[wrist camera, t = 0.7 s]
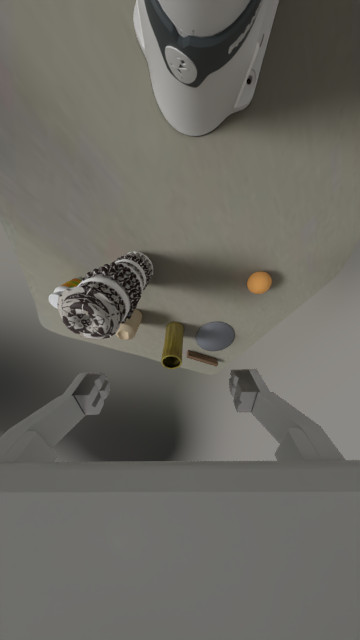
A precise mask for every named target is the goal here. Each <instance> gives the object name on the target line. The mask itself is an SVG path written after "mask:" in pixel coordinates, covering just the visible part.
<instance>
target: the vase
mask: <svg viewBox="0 0 360 640" xmlns="http://www.w3.org/2000/svg"><path fill="white" fill-rule="evenodd" d="M183 333H184V327H183V325H182V324H180V323H178V322H171V323H169V324H168V325H167V326H166V334H165V343H164V348H163V354H162V360H161V361H162V365H163V366H164V367H166V368H169V369H176V368H178V367H180V366H181V364H182V346H183Z"/></svg>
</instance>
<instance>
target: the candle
mask: <svg viewBox="0 0 360 640" xmlns="http://www.w3.org/2000/svg"><path fill="white" fill-rule="evenodd" d="M141 320H142V314H141V312H140V311H139V310H137V309H135V310H134V311H133V314H132V315H131V318H130V319H126V322H125V323H123V324H122V323H120V324H121V325H120V327H119V329H118V331H117V333H116V335H117V336H118V337H119V338H120V339H124V340H130V339H132V338H133V337H134V336H135V334H136V332H137V329H138V327H139V325H140V323H141Z"/></svg>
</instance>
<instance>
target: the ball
mask: <svg viewBox="0 0 360 640" xmlns="http://www.w3.org/2000/svg"><path fill="white" fill-rule="evenodd" d="M271 284H272V279H271V277H270V275H269V274H268V273H266V272H263V271H259V272H255V273H253V274H252V275H251V276H250V277H249V279H248V281H247V287H248V289H249V290H250V291H251V292H252V293H255V294H261V293H264V292H266V291H267V290H268V289H269V288H270V286H271Z"/></svg>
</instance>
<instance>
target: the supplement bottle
mask: <svg viewBox="0 0 360 640" xmlns="http://www.w3.org/2000/svg"><path fill="white" fill-rule="evenodd" d="M81 282H82V279H81V278H74V279H72V280H70V281H68V282H67V283H65V284H63V285H61V286H59V287H57V288H56V289H55V290H54V293H53V294H51V295H50V296H49V302H50V303H51V304H52V305H53V306H54V307H55V308H57V309H58V307H57V303H58V297H59V295H60V294H61V293H62V292H63V291H64V290H65V289H69V288H73V287H77V286H78V285H79V284H80V283H81Z"/></svg>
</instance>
